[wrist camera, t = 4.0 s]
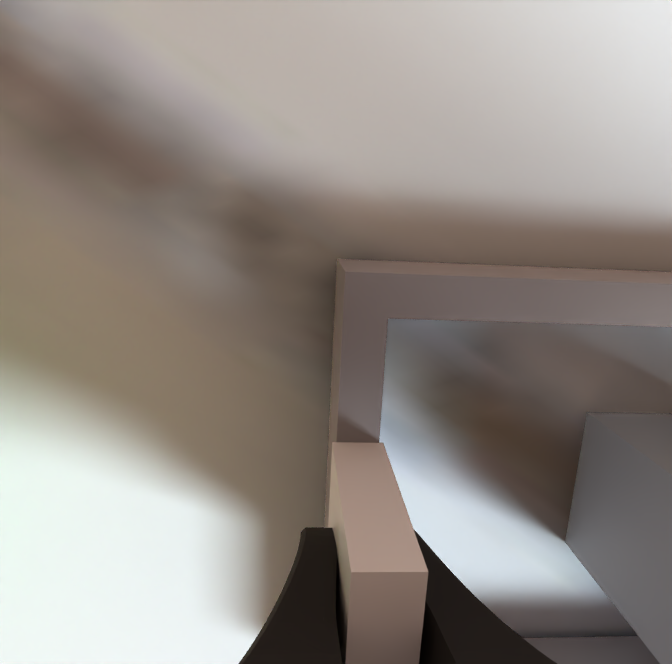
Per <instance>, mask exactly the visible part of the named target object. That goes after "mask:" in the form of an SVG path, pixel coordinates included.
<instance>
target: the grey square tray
mask: <svg viewBox="0 0 672 664" xmlns="http://www.w3.org/2000/svg"><path fill="white" fill-rule="evenodd" d="M388 318H395V319H427V320H460V321H492V322H524V323H557V324H589V325H621V326H653V327H672V272H663V271H637V270H612V269H587V268H562V267H536V266H511V265H486V264H461V263H436V262H410V261H385V260H360V259H337V268H336V289H335V310H334V331H333V352H332V373H331V394H330V415H329V436H328V457H327V478H326V499H325V520H324V528H333V532H334V536H335V541H336V547H337V562H336V623H337V630H338V637H339V644H340V651H341V658H342V664H419V658H420V648H421V639H422V629H423V619H424V609H425V600H426V590H427V580H428V569H427V567H426V564H425V561H424V558H423V555H422V552H421V549H420V547H419V544H418V541H417V538H416V535H415V532H414V529H413V527H412V524H411V521H410V518H409V515H408V512H407V509H406V507H405V504H404V501H403V498H402V495H401V492H400V490H399V487H398V484H397V481H396V478H395V475H394V472H393V470H392V467H391V464H390V461H389V458H388V455H387V452H386V450H385V447H384V444H383V443H379V435H380V421H381V407H382V393H383V379H384V365H385V352H386V338H387V324H388ZM523 639H525V640H526V641H527V642H528V643H530V644H531V645H532V646H533V647H535V648H536V649H537V650H539V651H540V652H542V653H543V654H544V655H546V656H547V657H548V658H550V659H551V660H553V661H554V662H556V663H557V664H660V663H659V662H658V661H657V659H656V658H655V657H654V655H653V654H652V653H651V652H650V650H649V649H648V648H647V646H646V645H645V644H644V643H643V641H642V640H641V639H640V637H639V636H611V637H553V638H523Z"/></svg>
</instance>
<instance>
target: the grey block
mask: <svg viewBox="0 0 672 664" xmlns="http://www.w3.org/2000/svg"><path fill="white" fill-rule="evenodd" d="M565 543H566V544H567V545H568V546H569V548H570V549H571V550H572V552H573V553H574V554H575V555H576V557H577V558H578V559H579V561H580V562H581V563H582V564H583V566H584V567H585V568H586V570H587V571H588V572H589V573H590V575H591V576H592V577H593V578H594V580H595V581H596V582H597V584H598V585H599V586H600V587H601V589H602V590H603V591H604V593H605V594H606V595H607V596H608V598H609V599H610V600H611V602H612V603H613V604H614V605H615V607H616V608H617V609H618V611H619V612H620V613H621V614H622V616H623V617H624V618H625V619H626V621H627V622H628V623H629V625H630V626H631V627H632V628H633V630H634V631H635V632H636V634H637V635H638V636H639V637H640V639H641V640H642V641H643V643H644V644H645V645H646V646H647V648H648V649H649V650H650V652H651V653H652V654H653V655H654V657H655V658H656V659H657V661H658V662H659V663H660V664H672V414H654V413H594V412H587V416H586V421H585V427H584V433H583V439H582V445H581V451H580V457H579V463H578V469H577V474H576V480H575V486H574V492H573V498H572V504H571V510H570V516H569V522H568V527H567V533H566V539H565Z"/></svg>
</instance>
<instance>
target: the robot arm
mask: <svg viewBox="0 0 672 664" xmlns="http://www.w3.org/2000/svg"><path fill="white" fill-rule="evenodd" d="M414 532H415V535H416V538H417V541H418V544H419V547H420V549H421V552H422V555H423V558H424V561H425V564H426V567H427V569H428V580H427V590H426V600H425V609H424V619H423V629H422V639H421V648H420V658H419V664H557V663H556V662H554V661H553V660H551V659H550V658H548V657H547V656H546V655H544V654H543V653H542V652H540V651H539V650H537V649H536V648H535V647H533V646H532V645H531V644H530V643H528V642H527V641H526V640H525V639H523V638H522V637H521V636H520V635H518V634H517V633H516V632H515V631H513V630H512V629H511V628H510V627H508V626H507V625H506V624H505V623H504V622H502V621H501V620H500V619H499V618H498V617H497V616H496V615H495V614H493V613H492V612H491V611H490V610H489V609H488V608H487V607H486V606H485V605H484V604H483V603H482V602H481V601H479V600H478V599H477V598H476V597H475V596H474V595H473V594H472V593H471V592H470V591H469V590H468V589H467V588H466V587H465V586H464V585H463V584H462V583H461V581H460V580H459V579H458V578H457V577H456V576H455V575H454V574H453V573H452V572H451V571H450V570H449V569H448V568H447V566H446V565H445V564H444V563H443V562H442V561H441V560H440V559H439V557H438V556H437V555H436V554H435V553H434V552H433V551H432V549H431V548H430V547H429V546H428V545H427V544H426V543H425V541H424V540H423V539H422V538H421V537H420V536H419V534H418V533H417V532H416V531H415V530H414ZM336 562H337V547H336V541H335V536H334V532H333V528H305V529H304V530H303V531H302V532H301V538H300V544H299V548H298V552H297V555H296V558H295V561H294V564H293V567H292V569H291V571H290V574H289V576H288V579H287V581H286V583H285V586H284V588H283V590H282V592H281V594H280V596H279V598H278V600H277V602H276V604H275V606H274V608H273V610H272V612H271V614H270V616H269V617H268V619H267V621H266V623H265V624H264V626H263V628H262V629H261V631H260V633H259V634H258V636H257V638H256V639H255V641H254V642H253V644H252V645H251V647H250V648H249V650H248V651H247V653H246V654H245V656H244V657H243V658H242V660H241V661H240V662H239V664H342V658H341V651H340V644H339V637H338V630H337V623H336Z"/></svg>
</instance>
